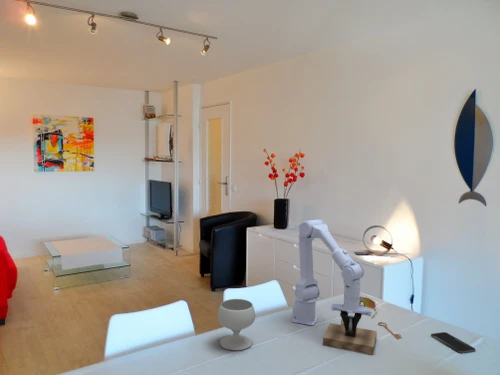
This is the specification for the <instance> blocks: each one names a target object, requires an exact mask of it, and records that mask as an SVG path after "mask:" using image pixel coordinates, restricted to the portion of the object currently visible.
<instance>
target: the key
mask: <svg viewBox="0 0 500 375" xmlns="http://www.w3.org/2000/svg"><path fill="white" fill-rule="evenodd" d="M377 324H378V326H380V327H383V328H385V329H386V330H387V332H389V333H390V334H391V335H392V336H393V337H394V338H395V339H396V340H400V339H402V336H401V334H400V333H397V334H396V333H394V332H393V331H391V329H389V327H388V324H387V323H385V322H381V321H379V322H378V323H377Z"/></svg>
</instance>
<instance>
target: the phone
mask: <svg viewBox="0 0 500 375" xmlns="http://www.w3.org/2000/svg"><path fill="white" fill-rule="evenodd" d="M430 338H432V339H434V340H435V341H436V342H438V343H441V344H442V345H443V346H445V347H447V348H448V349H450V348H451V350H452V351H454V352H455V353H456V354H457V353H458V354H462V355H463V353H464V354H469V353H474V352H476V348H475V347H473V346H471V345H469V344H468V343H466V342H464V341H462V340H460V339H459V338H457V337H455V336H454V335H452V334H450V333H448V332H445V331H442V332H434V333H431V334H430Z"/></svg>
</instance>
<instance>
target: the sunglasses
mask: <svg viewBox="0 0 500 375" xmlns="http://www.w3.org/2000/svg"><path fill="white" fill-rule="evenodd" d="M362 303H363V306H364V307H366V308H369V309H371V310H375V312H374V313H373V314H372V315H371V317H370V319H373V317H375V315H376V313H377V311H378V306H377V302H376V301H375V300H373V298H371V297H368V296H364V295H360V301H359V307H361V304H362Z"/></svg>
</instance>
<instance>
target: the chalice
mask: <svg viewBox="0 0 500 375" xmlns="http://www.w3.org/2000/svg"><path fill="white" fill-rule="evenodd" d="M217 319H218V322H219V324H220V325H221V326H223V327H224V328H226V329H229V330H230V331H231V332H233V334H230V335H227V336H225V337H223V338H222V339H221V340H220V341H219V344H220V346H221V347H222V348H224V349H226V350H229V351H243V350H246V349H247V350H248V349H249V348H251V346H253V340H252V339H251V338H250V337H248V336H246V335H242V334H240V332H241V331H242V330H244V329H247V328H249V327H251V326H252V325H253V324H254V323H255V320H256V310H255V307H254V305H253V303H252V302H251V301H249V300H247V299H241V298H233V299H232V298H231V299H227V300H224V301H222V302H221V304H220V305H219V307H218V311H217Z"/></svg>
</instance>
